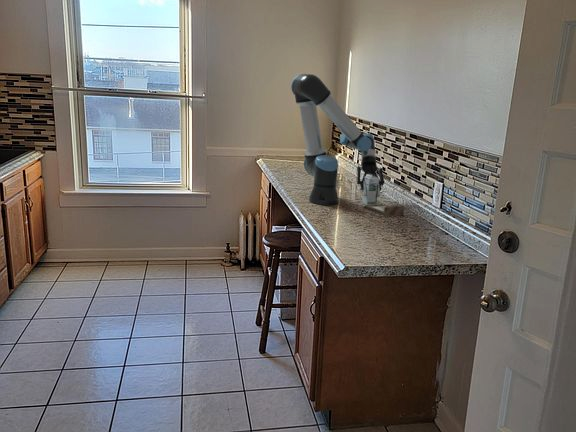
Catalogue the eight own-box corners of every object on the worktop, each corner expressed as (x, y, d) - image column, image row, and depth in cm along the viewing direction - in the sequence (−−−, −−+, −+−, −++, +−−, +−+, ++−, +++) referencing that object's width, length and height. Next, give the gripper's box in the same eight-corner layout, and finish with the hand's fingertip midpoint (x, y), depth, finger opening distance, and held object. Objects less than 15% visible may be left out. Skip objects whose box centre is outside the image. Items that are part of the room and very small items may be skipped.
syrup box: (366, 205, 265) (369, 177, 261) (361, 202, 271) (364, 175, 267) (376, 205, 267) (379, 178, 263) (371, 202, 272) (374, 175, 268)
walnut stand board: (385, 216, 246) (386, 207, 245) (363, 208, 259) (364, 200, 258) (403, 214, 253) (404, 205, 251) (381, 206, 265) (382, 198, 264)
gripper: (385, 164, 279) (388, 200, 268) (349, 162, 278) (351, 198, 267) (388, 156, 273) (392, 192, 261) (351, 153, 271) (354, 190, 260)
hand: (371, 195), depth 264 cm, fingers closed on syrup box, 7 cm apart
